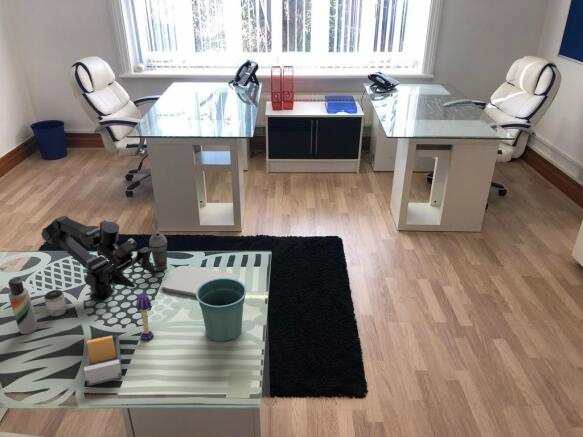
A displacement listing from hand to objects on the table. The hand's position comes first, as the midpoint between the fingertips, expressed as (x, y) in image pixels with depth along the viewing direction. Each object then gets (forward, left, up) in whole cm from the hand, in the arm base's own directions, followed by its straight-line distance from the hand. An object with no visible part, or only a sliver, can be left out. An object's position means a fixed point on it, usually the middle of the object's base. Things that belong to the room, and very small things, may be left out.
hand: (144, 279), depth 161 cm
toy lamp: (+5, -9, -16) cm, 19 cm away
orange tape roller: (-1, -23, -16) cm, 28 cm away
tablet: (+6, +24, -17) cm, 30 cm away
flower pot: (+27, +3, -16) cm, 32 cm away
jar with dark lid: (-33, -9, -16) cm, 38 cm away
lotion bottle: (-35, -20, -16) cm, 43 cm away
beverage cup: (-15, +29, -16) cm, 37 cm away
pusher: (-1, -23, -16) cm, 28 cm away
